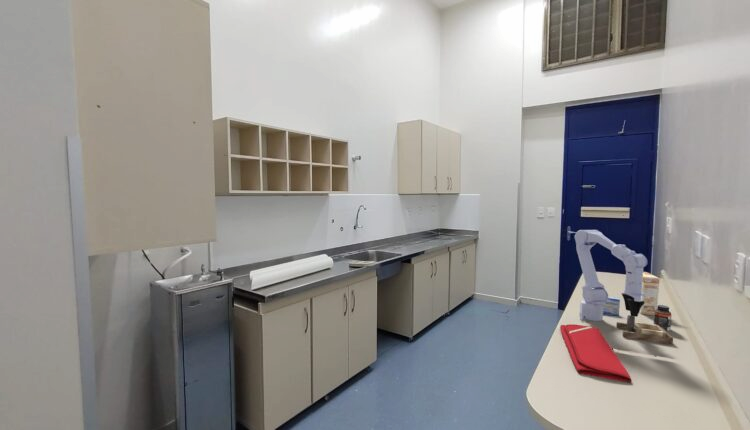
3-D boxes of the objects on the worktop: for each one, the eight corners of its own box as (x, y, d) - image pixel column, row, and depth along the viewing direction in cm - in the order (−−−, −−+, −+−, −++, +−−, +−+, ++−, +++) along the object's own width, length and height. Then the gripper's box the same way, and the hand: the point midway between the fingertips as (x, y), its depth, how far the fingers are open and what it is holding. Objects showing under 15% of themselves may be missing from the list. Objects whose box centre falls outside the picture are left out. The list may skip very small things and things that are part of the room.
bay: (617, 340, 143) (617, 331, 142) (608, 326, 157) (609, 318, 157) (674, 349, 135) (675, 340, 135) (659, 334, 150) (660, 325, 149)
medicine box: (600, 314, 174) (601, 297, 174) (598, 311, 178) (599, 295, 178) (619, 316, 171) (620, 299, 171) (616, 313, 176) (617, 297, 175)
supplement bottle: (673, 334, 151) (675, 309, 150) (658, 332, 152) (660, 307, 151) (664, 328, 157) (666, 304, 156) (650, 327, 158) (652, 303, 157)
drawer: (629, 336, 144) (630, 319, 143) (623, 328, 152) (624, 312, 152) (665, 342, 139) (666, 324, 138) (657, 334, 147) (658, 317, 147)
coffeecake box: (657, 316, 173) (660, 278, 172) (640, 314, 175) (643, 276, 174) (644, 306, 187) (647, 271, 186) (629, 305, 190) (631, 270, 188)
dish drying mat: (576, 374, 116) (577, 363, 116) (558, 329, 154) (559, 321, 154) (632, 384, 110) (632, 373, 110) (599, 335, 149) (599, 327, 148)
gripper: (651, 287, 138) (648, 320, 139) (640, 279, 151) (637, 309, 152) (629, 285, 140) (627, 317, 141) (620, 277, 154) (618, 307, 155)
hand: (631, 313), depth 147 cm, fingers open, 7 cm apart
